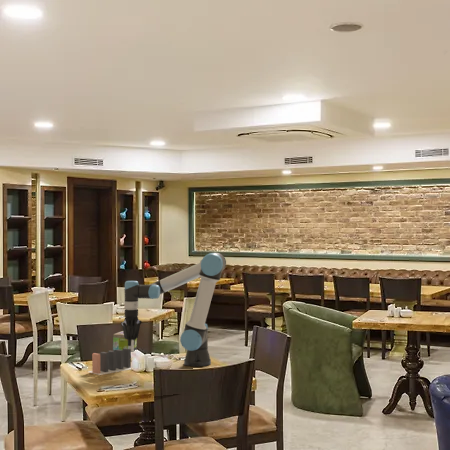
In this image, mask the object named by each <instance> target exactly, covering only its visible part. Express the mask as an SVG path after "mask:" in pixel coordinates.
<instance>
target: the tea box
mask: <svg viewBox="0 0 450 450" xmlns="http://www.w3.org/2000/svg"><path fill="white" fill-rule="evenodd" d="M112 337H113V338H112V339H113V340H112V342H113V343H112V351H115V350H117V349H118V350H123V348H127V349H129V346H128V340H127V339H125V338H124V333H123V330H122V331H118V332H116V333H113V336H112ZM137 341H138V338H136V340H135V345H134V351H135V350H137V348H138V346H137V344H138V342H137Z"/></svg>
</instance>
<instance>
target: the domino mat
mask: <svg viewBox="0 0 450 450" xmlns="http://www.w3.org/2000/svg"><path fill="white" fill-rule="evenodd" d="M128 370H129V371H130V370H132V369H131V368H126V367H123V369H117V368H116V370H115V371H112V370H108V372H103V371H100V373H99V374H97V373H93V372H92V370H89V371H87V373H91V374H94V375H98V376H102V375H108V374H113V373H119V372H124V371H128Z"/></svg>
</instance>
